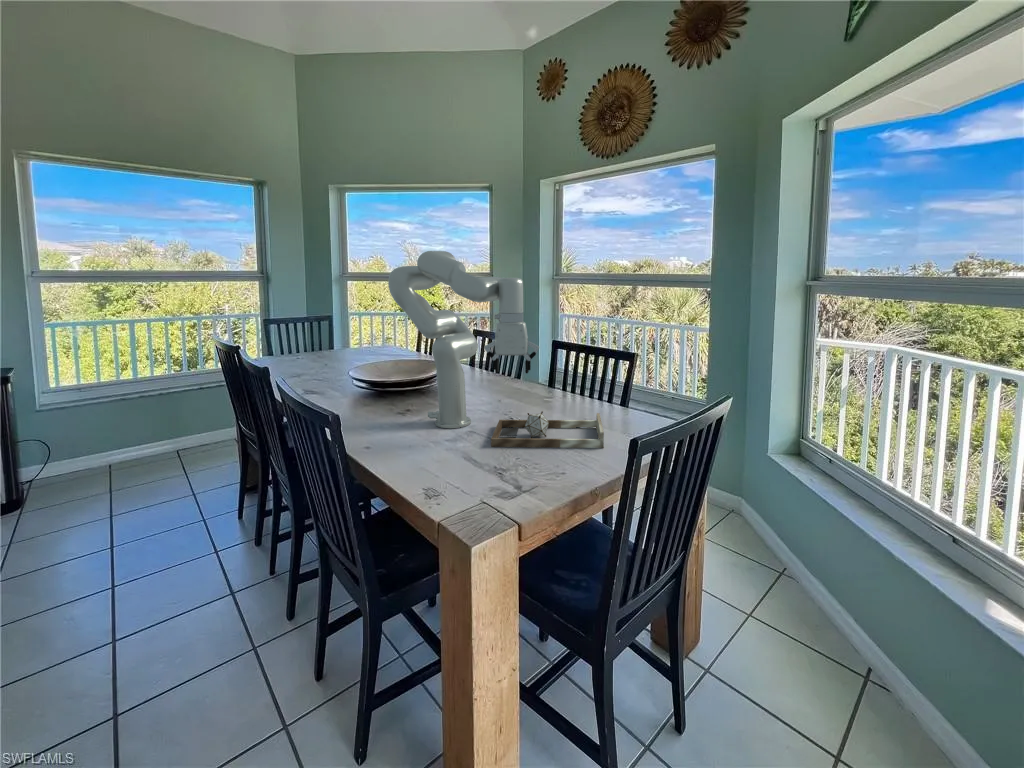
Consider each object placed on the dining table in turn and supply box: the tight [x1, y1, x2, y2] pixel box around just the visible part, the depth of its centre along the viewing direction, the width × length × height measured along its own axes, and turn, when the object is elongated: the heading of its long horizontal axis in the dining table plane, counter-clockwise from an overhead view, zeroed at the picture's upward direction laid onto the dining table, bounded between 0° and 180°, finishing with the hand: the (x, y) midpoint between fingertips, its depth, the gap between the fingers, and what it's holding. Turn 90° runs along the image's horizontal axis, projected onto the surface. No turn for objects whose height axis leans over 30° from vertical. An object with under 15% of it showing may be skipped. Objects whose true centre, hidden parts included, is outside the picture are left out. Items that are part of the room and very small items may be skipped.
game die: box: [522, 410, 552, 438], centre depth 161 cm, size 9×8×10 cm
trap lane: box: [490, 412, 605, 449], centre depth 161 cm, size 34×20×5 cm, turn 84°
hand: (512, 372), depth 160 cm, fingers open, 9 cm apart
